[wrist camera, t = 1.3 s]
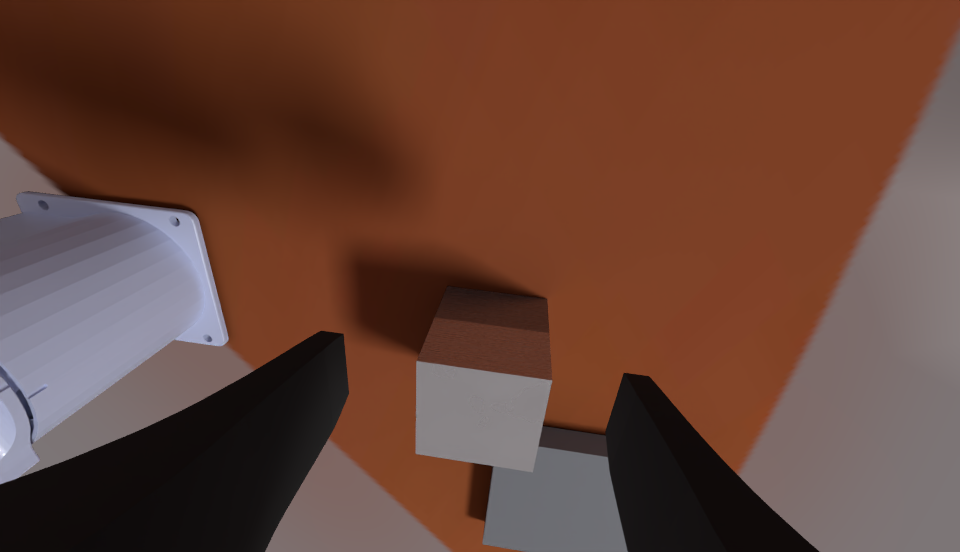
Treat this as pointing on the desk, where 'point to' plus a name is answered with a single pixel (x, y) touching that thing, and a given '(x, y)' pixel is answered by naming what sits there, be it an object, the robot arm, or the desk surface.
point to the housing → (484, 379)
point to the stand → (556, 499)
